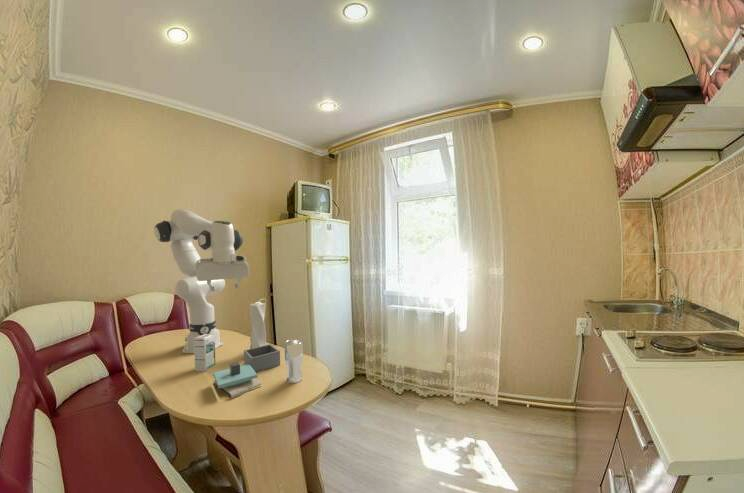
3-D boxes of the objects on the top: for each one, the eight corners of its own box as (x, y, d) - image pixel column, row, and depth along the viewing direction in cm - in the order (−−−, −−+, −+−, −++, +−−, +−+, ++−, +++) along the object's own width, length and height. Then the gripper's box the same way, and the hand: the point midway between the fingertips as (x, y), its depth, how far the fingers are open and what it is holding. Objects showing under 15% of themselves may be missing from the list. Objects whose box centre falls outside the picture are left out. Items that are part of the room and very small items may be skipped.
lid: (213, 378, 109) (213, 363, 109) (249, 369, 116) (248, 355, 116) (218, 391, 98) (218, 375, 98) (257, 380, 106) (257, 365, 106)
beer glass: (284, 377, 113) (283, 340, 113) (302, 374, 115) (301, 338, 115) (286, 385, 106) (285, 346, 106) (305, 381, 109) (304, 343, 109)
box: (244, 366, 125) (243, 350, 125) (271, 358, 133) (270, 344, 133) (251, 375, 116) (251, 358, 116) (280, 366, 123) (279, 351, 123)
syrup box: (206, 371, 121) (205, 338, 121) (194, 371, 122) (193, 337, 122) (215, 366, 126) (215, 334, 126) (204, 365, 127) (203, 333, 127)
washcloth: (241, 375, 118) (241, 367, 118) (263, 388, 106) (263, 379, 106) (211, 386, 109) (211, 378, 109) (231, 401, 97) (231, 393, 97)
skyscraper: (268, 351, 143) (266, 297, 143) (267, 357, 136) (266, 299, 136) (250, 354, 141) (249, 298, 141) (248, 360, 133) (247, 301, 133)
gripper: (196, 259, 113) (197, 293, 113) (249, 256, 126) (250, 287, 126) (194, 258, 118) (195, 291, 118) (246, 256, 131) (247, 286, 131)
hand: (224, 289), depth 122 cm, fingers open, 8 cm apart
